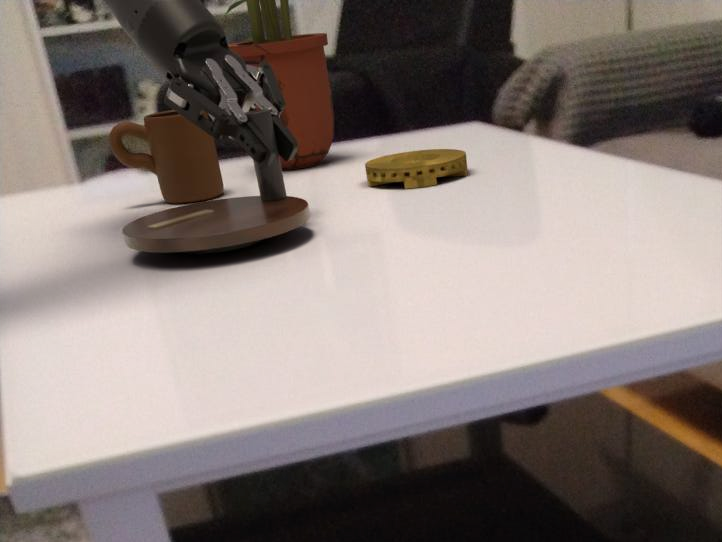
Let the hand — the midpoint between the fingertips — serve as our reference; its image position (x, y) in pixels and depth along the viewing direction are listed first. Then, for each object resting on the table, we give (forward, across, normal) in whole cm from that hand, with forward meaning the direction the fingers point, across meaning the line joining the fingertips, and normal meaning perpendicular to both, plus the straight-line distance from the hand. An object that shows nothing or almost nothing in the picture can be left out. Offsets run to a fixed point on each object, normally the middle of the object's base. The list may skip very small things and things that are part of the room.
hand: (281, 156), depth 101 cm
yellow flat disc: (+3, +24, +7) cm, 26 cm away
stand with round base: (+3, -8, +7) cm, 10 cm away
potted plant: (-13, +30, +23) cm, 40 cm away
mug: (-15, +10, +25) cm, 31 cm away
